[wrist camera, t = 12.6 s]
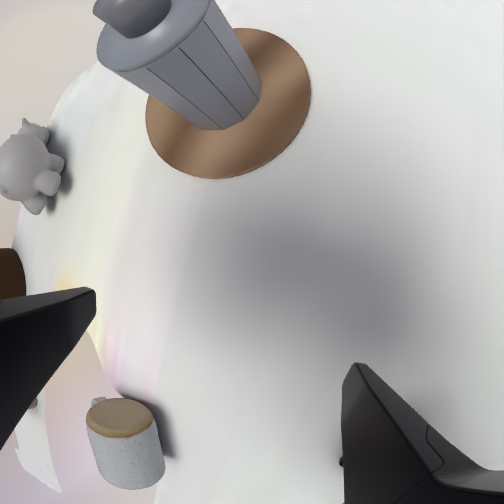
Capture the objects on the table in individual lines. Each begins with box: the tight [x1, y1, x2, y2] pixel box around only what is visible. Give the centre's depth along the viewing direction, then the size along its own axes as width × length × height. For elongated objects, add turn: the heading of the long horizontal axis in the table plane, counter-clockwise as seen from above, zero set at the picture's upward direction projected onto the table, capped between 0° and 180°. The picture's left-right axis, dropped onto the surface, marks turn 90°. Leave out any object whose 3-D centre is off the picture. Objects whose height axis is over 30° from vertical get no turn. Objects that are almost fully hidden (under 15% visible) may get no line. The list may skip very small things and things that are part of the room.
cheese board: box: [146, 28, 311, 179], centre depth 20 cm, size 14×14×4 cm
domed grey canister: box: [93, 0, 262, 130], centre depth 14 cm, size 7×7×13 cm
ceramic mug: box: [86, 397, 165, 490], centre depth 22 cm, size 11×8×8 cm
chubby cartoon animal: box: [0, 118, 65, 215], centre depth 23 cm, size 7×12×8 cm, turn 26°
